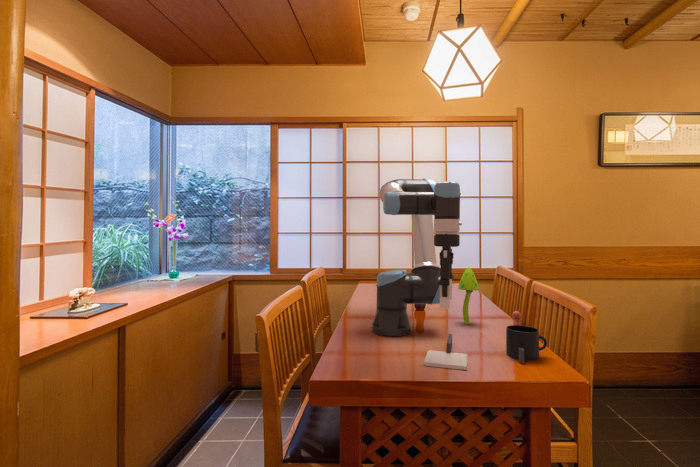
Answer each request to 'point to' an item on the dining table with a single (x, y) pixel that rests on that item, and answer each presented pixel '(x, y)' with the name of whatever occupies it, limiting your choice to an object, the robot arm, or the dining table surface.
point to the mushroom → (467, 290)
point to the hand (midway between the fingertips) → (446, 303)
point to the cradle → (516, 321)
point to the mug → (523, 342)
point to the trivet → (446, 360)
